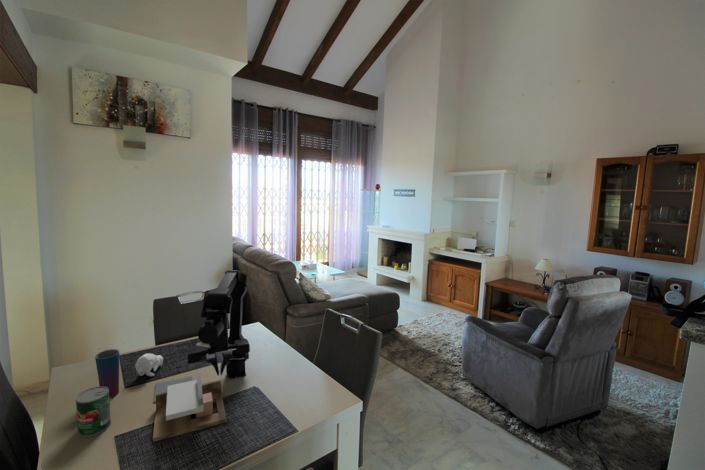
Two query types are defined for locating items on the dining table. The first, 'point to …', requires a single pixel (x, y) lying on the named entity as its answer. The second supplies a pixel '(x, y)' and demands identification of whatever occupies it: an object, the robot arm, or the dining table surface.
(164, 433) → the brown open box
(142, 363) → the white animal figurine
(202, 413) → the block
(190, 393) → the cover
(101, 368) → the cup
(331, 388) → the dining table surface
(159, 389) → the mat
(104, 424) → the canned tomato
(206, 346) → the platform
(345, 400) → the dining table surface
